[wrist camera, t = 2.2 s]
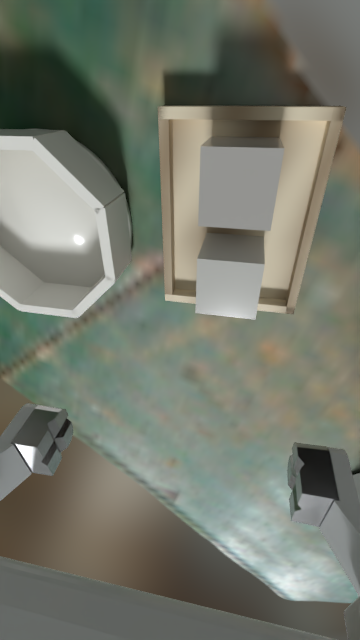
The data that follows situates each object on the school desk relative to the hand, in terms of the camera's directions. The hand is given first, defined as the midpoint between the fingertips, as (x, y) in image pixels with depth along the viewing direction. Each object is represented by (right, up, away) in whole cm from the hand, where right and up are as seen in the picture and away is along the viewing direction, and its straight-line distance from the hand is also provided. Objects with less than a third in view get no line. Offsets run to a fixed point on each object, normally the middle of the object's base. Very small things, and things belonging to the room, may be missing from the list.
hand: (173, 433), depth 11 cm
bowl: (-9, +12, +14) cm, 21 cm away
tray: (+4, +11, +11) cm, 16 cm away
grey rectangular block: (+4, +13, +9) cm, 16 cm away
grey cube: (+4, +8, +12) cm, 15 cm away
